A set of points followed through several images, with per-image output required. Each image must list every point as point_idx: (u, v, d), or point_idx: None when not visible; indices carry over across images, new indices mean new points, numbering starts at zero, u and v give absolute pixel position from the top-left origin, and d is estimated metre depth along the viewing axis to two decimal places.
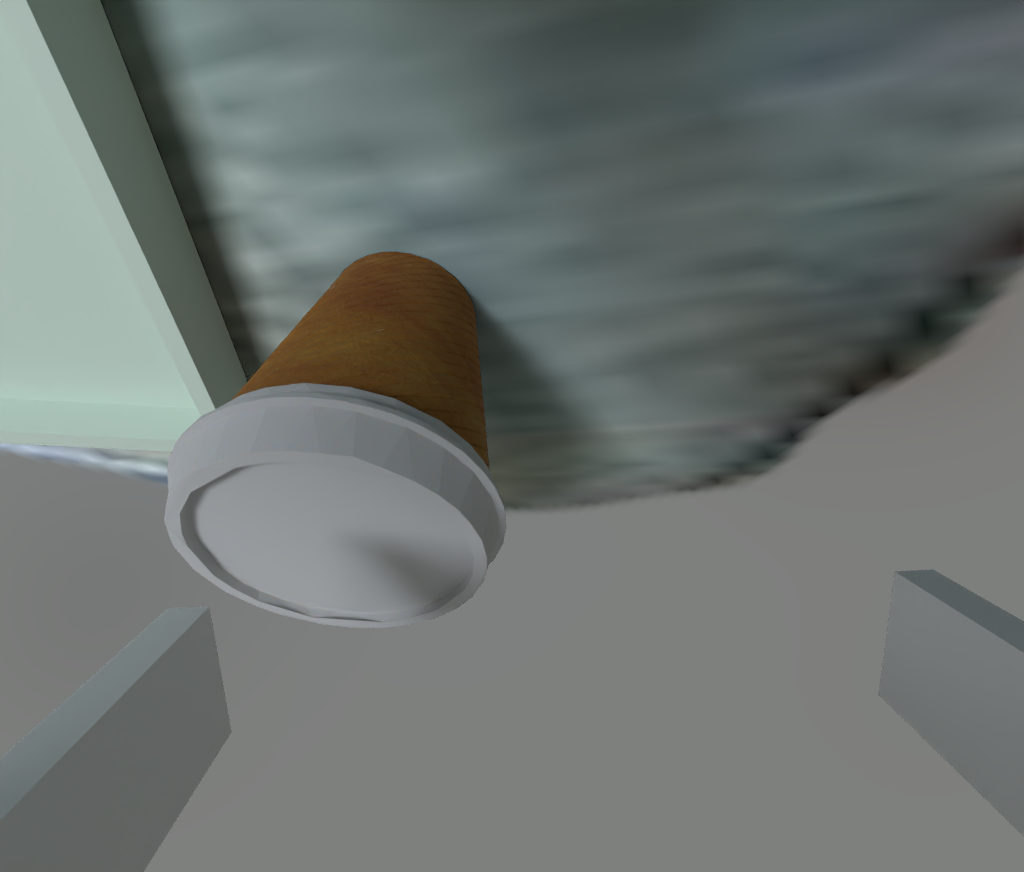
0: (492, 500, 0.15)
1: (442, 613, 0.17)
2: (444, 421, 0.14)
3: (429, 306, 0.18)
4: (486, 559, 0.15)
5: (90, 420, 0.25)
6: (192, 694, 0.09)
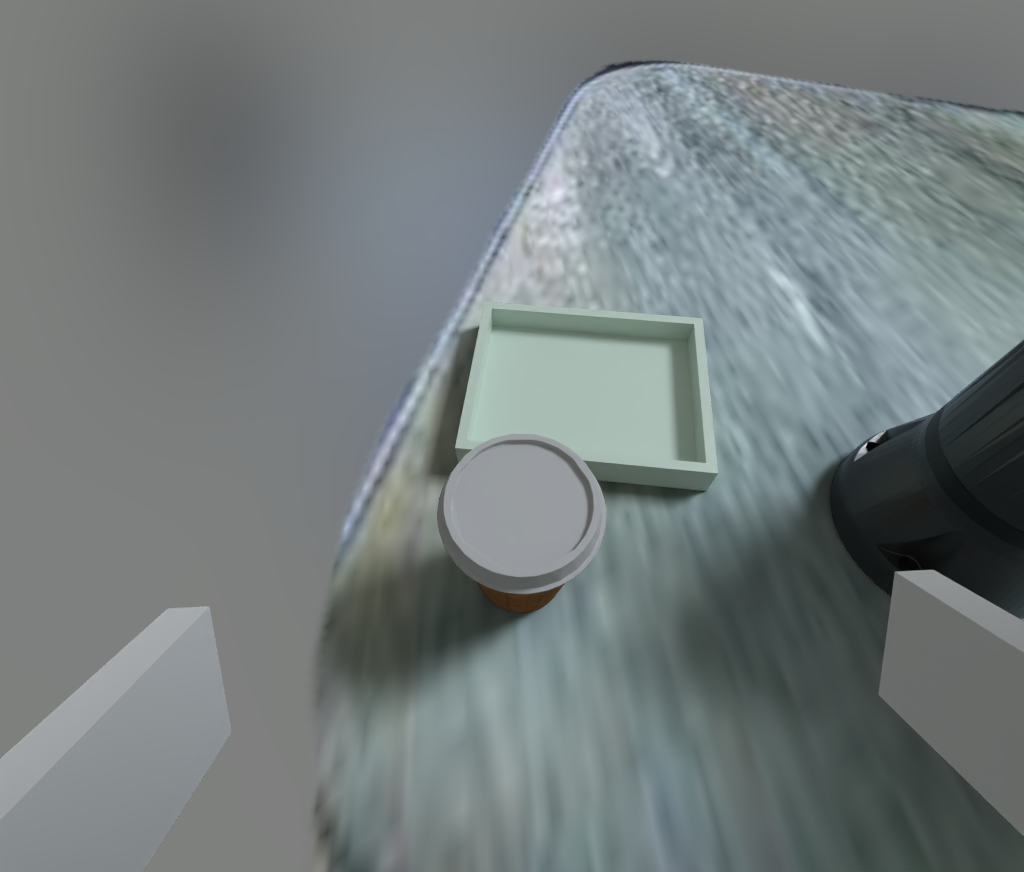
0: (538, 587, 0.28)
1: (458, 544, 0.28)
2: None
3: None
4: (517, 576, 0.27)
5: (479, 385, 0.46)
6: (192, 694, 0.09)
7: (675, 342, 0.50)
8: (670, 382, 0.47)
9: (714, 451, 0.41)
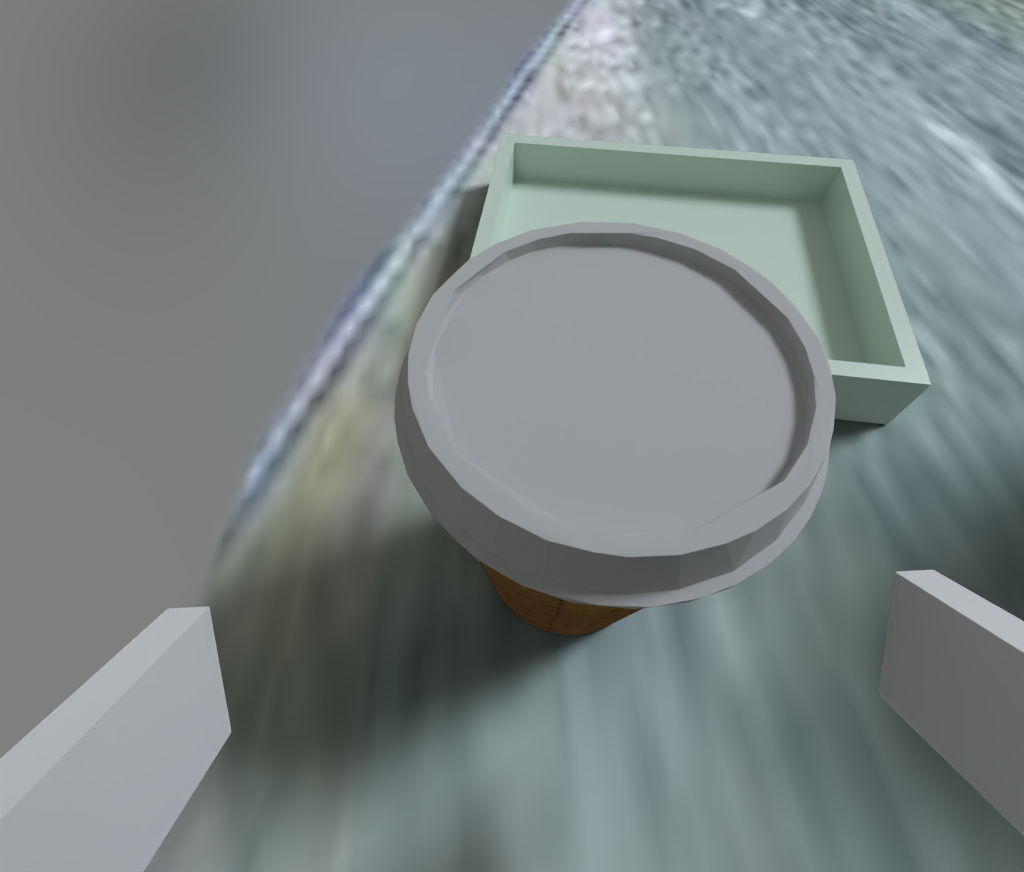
0: (672, 590, 0.10)
1: (444, 460, 0.10)
2: None
3: None
4: (622, 555, 0.09)
5: None
6: (192, 694, 0.09)
7: (802, 204, 0.31)
8: (803, 257, 0.29)
9: (916, 349, 0.23)
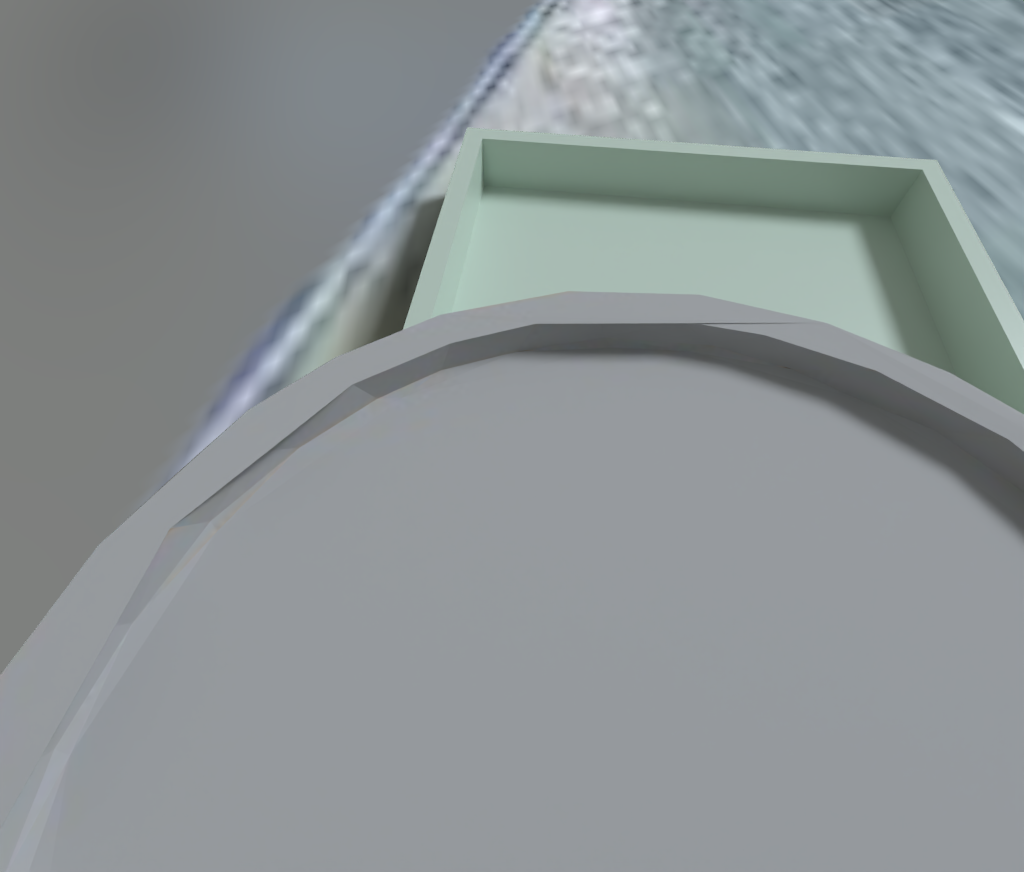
0: None
1: None
2: None
3: None
4: None
5: (449, 286, 0.20)
6: None
7: (866, 219, 0.24)
8: (877, 292, 0.21)
9: None
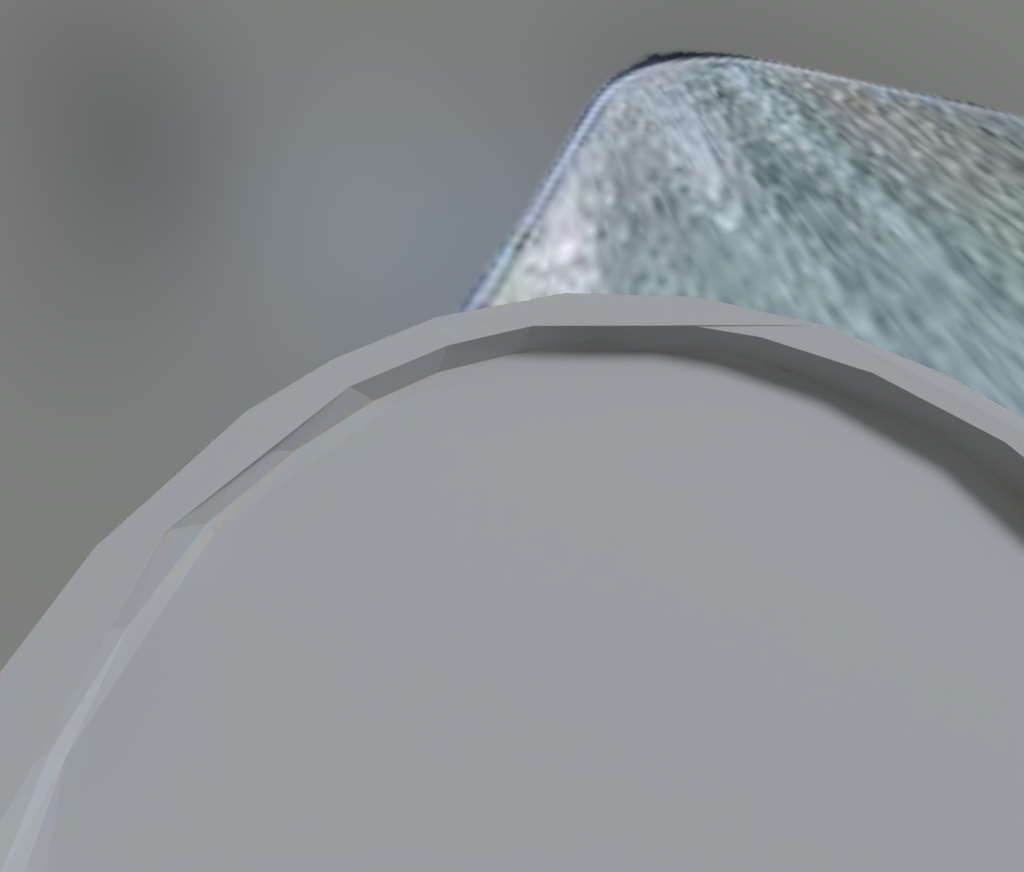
0: None
1: None
2: None
3: None
4: None
5: None
6: None
7: None
8: None
9: None
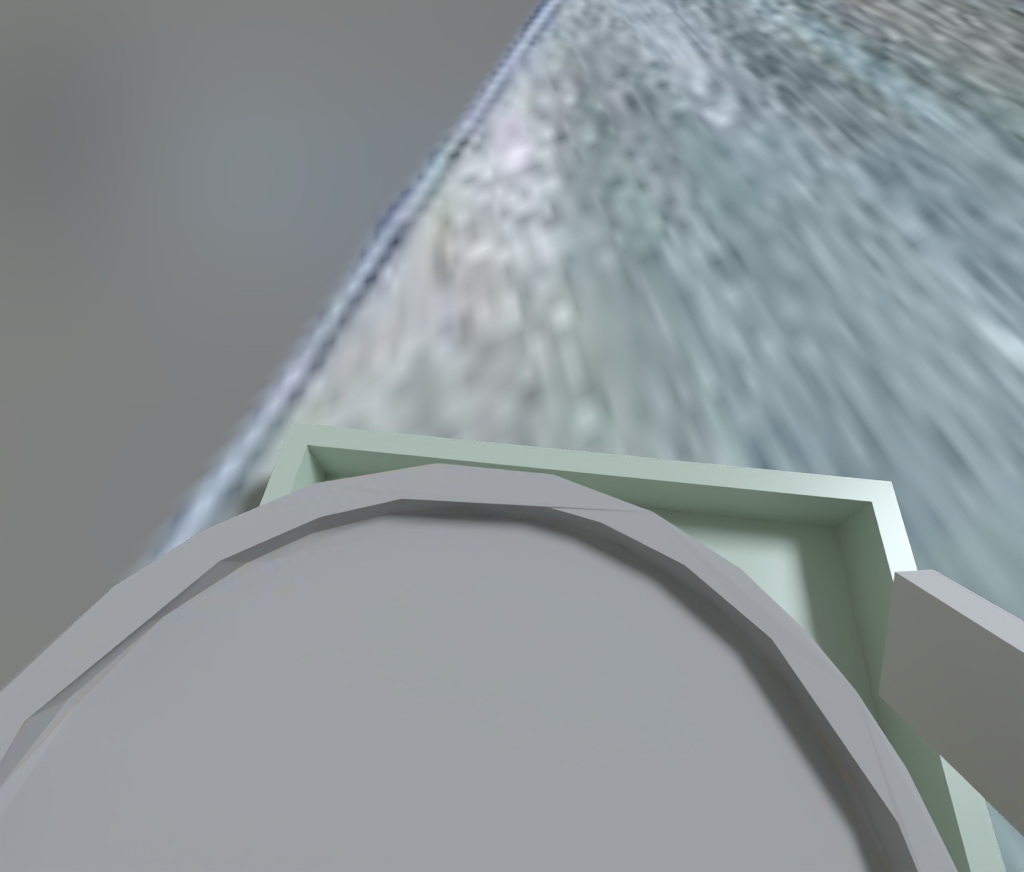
0: None
1: None
2: None
3: None
4: None
5: None
6: None
7: (804, 533, 0.19)
8: None
9: None
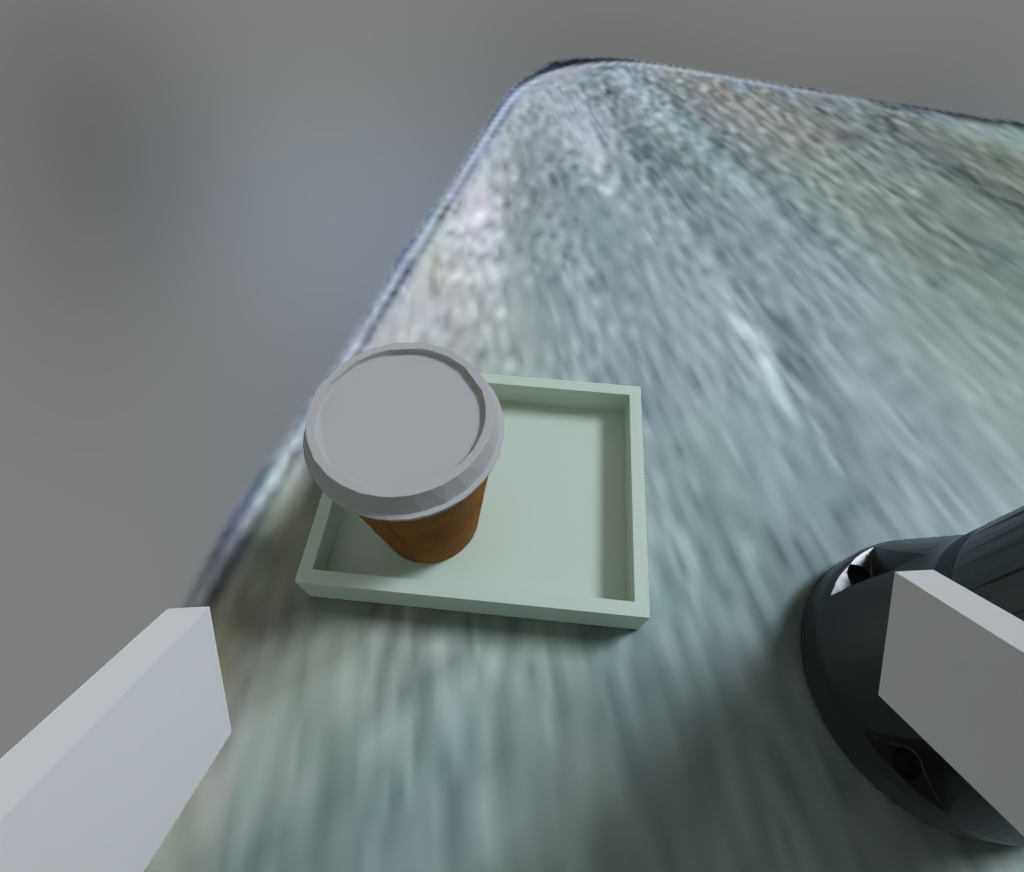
0: (418, 512, 0.23)
1: (320, 463, 0.23)
2: None
3: (471, 522, 0.30)
4: (388, 497, 0.22)
5: None
6: (192, 694, 0.09)
7: (608, 414, 0.39)
8: (598, 471, 0.36)
9: (646, 583, 0.30)
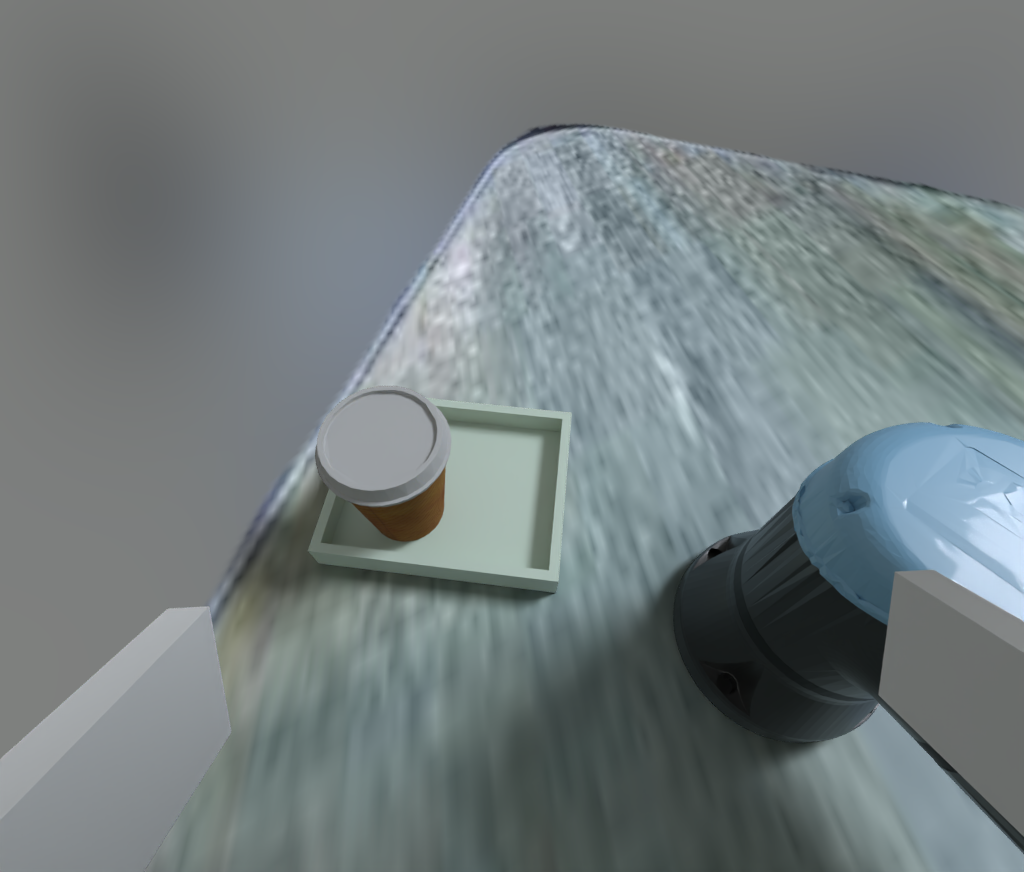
0: (389, 501, 0.35)
1: (325, 468, 0.35)
2: (422, 492, 0.37)
3: (434, 511, 0.42)
4: (369, 490, 0.34)
5: None
6: (192, 694, 0.09)
7: (548, 433, 0.51)
8: (536, 476, 0.48)
9: (558, 558, 0.42)
